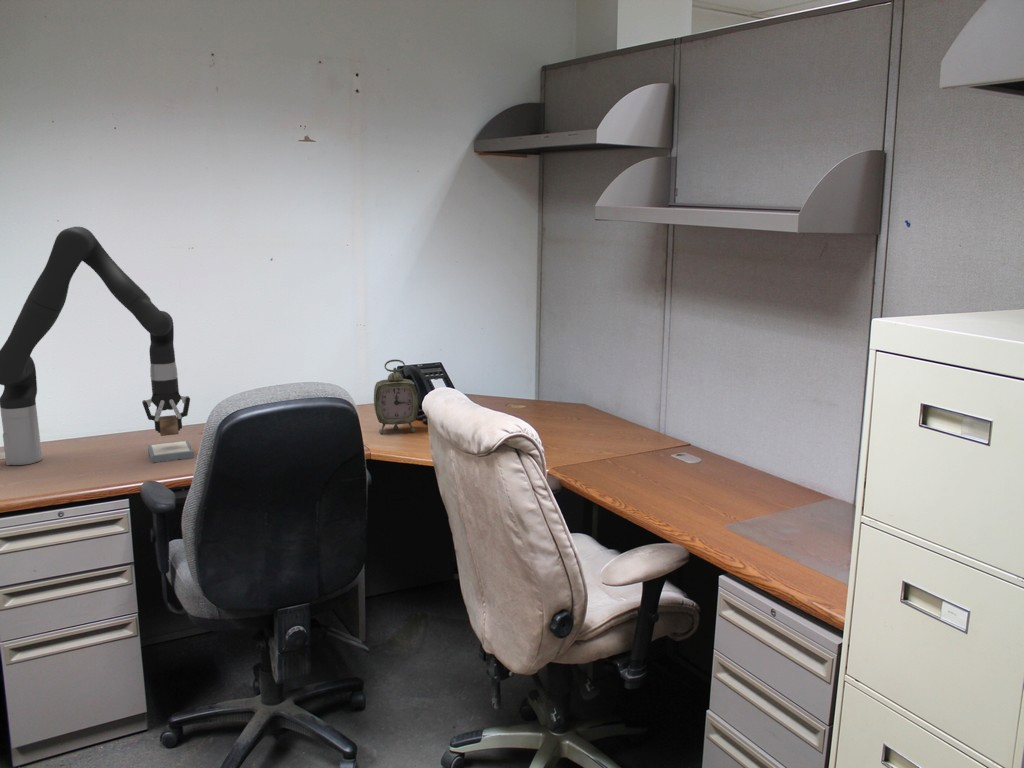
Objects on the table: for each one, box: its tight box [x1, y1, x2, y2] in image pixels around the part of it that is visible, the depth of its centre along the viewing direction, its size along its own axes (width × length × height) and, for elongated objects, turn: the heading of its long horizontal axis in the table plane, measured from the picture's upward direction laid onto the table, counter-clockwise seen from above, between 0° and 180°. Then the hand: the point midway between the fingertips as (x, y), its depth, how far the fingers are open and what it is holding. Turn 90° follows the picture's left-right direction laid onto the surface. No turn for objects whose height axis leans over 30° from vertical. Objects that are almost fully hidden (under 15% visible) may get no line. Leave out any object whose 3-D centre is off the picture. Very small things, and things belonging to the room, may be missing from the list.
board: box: [147, 440, 195, 463], centre depth 260 cm, size 12×14×2 cm
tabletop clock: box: [373, 359, 419, 435], centre depth 286 cm, size 14×9×25 cm, turn 104°
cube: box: [159, 414, 180, 437], centre depth 258 cm, size 5×5×5 cm
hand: (169, 431), depth 259 cm, fingers closed on cube, 5 cm apart
